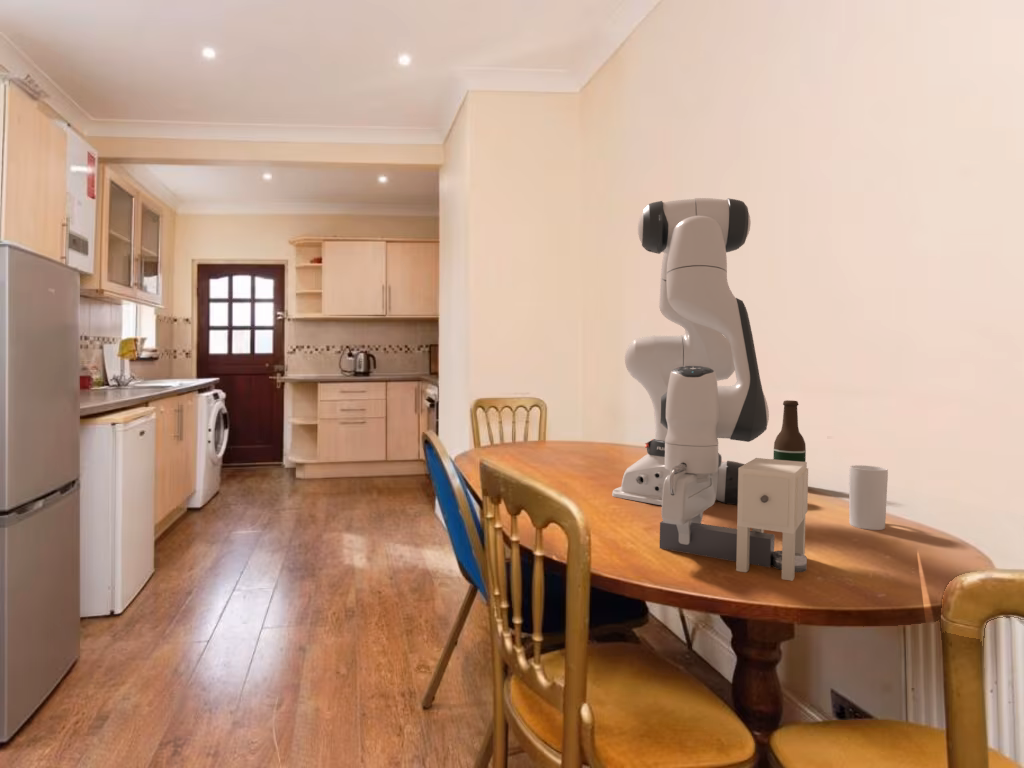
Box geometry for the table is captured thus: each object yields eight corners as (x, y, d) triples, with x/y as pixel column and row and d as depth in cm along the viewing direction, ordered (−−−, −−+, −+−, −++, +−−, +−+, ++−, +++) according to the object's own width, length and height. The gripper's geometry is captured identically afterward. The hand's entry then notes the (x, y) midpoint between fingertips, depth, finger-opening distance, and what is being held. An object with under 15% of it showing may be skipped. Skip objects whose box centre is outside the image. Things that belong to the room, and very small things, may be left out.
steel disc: (769, 569, 95) (769, 556, 95) (774, 560, 100) (774, 548, 99) (804, 574, 93) (805, 561, 93) (808, 566, 97) (808, 553, 97)
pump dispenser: (708, 508, 146) (777, 517, 141) (708, 492, 138) (781, 500, 132) (711, 469, 151) (777, 476, 146) (711, 452, 142) (781, 458, 137)
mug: (887, 532, 119) (888, 471, 118) (847, 527, 122) (849, 468, 122) (885, 521, 127) (886, 465, 127) (848, 517, 131) (849, 462, 130)
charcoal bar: (659, 548, 106) (660, 522, 105) (666, 543, 108) (666, 518, 108) (769, 567, 96) (770, 539, 96) (773, 561, 99) (774, 534, 99)
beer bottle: (791, 494, 155) (793, 401, 155) (766, 489, 162) (768, 400, 162) (811, 492, 159) (813, 401, 158) (785, 487, 166) (787, 399, 165)
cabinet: (734, 572, 93) (736, 468, 93) (753, 549, 106) (755, 457, 105) (794, 583, 88) (796, 474, 88) (806, 557, 101) (809, 462, 101)
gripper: (691, 469, 94) (689, 558, 94) (724, 455, 111) (722, 530, 111) (652, 465, 97) (650, 551, 97) (689, 452, 114) (688, 525, 115)
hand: (689, 540), depth 104 cm, fingers closed on charcoal bar, 3 cm apart
